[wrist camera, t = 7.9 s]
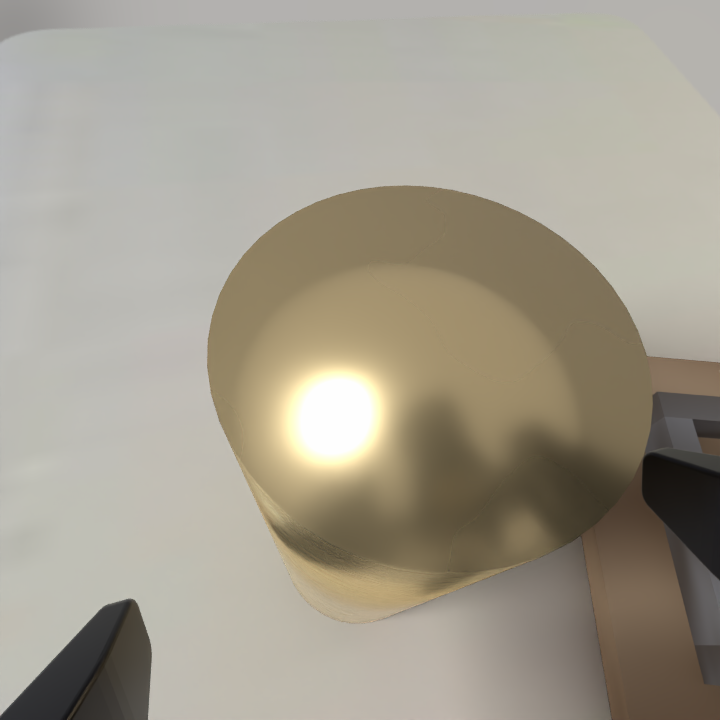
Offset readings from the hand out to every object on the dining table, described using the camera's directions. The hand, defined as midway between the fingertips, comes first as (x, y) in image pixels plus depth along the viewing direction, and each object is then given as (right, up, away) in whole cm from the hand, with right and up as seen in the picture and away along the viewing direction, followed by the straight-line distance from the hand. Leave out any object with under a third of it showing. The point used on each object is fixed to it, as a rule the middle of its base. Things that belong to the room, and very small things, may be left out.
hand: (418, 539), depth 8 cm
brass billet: (-1, -3, +9) cm, 9 cm away
